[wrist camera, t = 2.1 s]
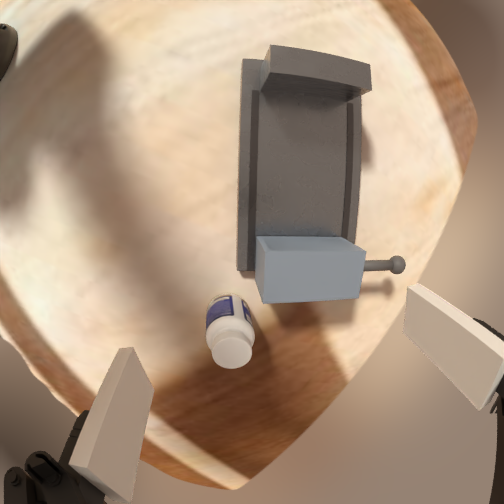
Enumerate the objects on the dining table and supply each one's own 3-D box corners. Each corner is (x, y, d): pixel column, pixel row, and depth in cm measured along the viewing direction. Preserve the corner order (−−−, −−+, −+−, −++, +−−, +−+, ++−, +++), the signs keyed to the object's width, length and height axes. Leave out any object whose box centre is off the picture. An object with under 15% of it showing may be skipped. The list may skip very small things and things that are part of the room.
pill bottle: (201, 322, 34) (198, 366, 25) (214, 286, 33) (213, 325, 24) (240, 333, 35) (247, 377, 26) (255, 299, 34) (266, 339, 25)
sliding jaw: (255, 279, 31) (262, 303, 25) (256, 236, 30) (265, 252, 24) (386, 274, 33) (412, 292, 27) (392, 238, 32) (421, 251, 26)
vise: (236, 266, 32) (241, 293, 25) (241, 63, 25) (248, 34, 18) (346, 264, 34) (374, 287, 27) (354, 79, 27) (385, 61, 20)
